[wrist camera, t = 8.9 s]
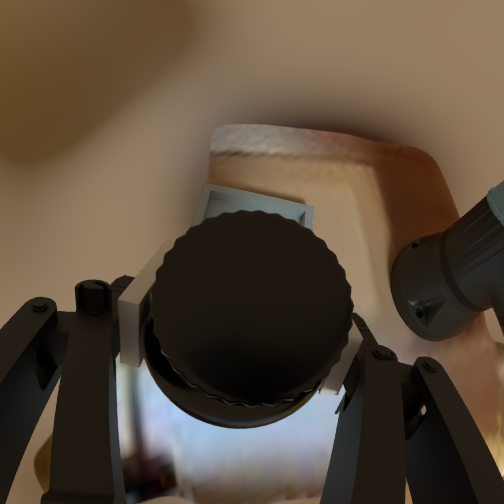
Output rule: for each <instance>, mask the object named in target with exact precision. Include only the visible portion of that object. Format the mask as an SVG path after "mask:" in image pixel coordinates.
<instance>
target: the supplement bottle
mask: <svg viewBox="0 0 504 504" xmlns="http://www.w3.org/2000/svg"><path fill="white" fill-rule="evenodd" d="M353 308H354V304H353V301H352V300H351V286H350V285H349V283H348V282H347V280H346V274H345V270H344V269H343V268H342V266H341V265H340V264H339V263H338V260H337V257H336V254H334V253H333V252H332V251H331V250H329V249H328V247H327V245H326V243H325V241H324V240H322V239H320V238H318V237H316V236H315V235H314V233H313V232H312V230H311V229H309V228H306V227H303V226H301V225H300V224H299V223H298V222H297V221H296V220H293V219H287V218H284V217H283V216H281V215H280V214H278V213H266V212H264V211H262V210H256V211H247V210H242V209H241V210H239V211H236V212H234V213H230V212H223V213H221V214H220V215H218V216H217V217H210V218H206V219H205V220H204V221H202V223H201V224H199V225H195V226H192V227H190V228H189V230H188V231H187V233H186V234H185V235H183V236H181V237H179V238H177V239H176V241H175V243H174V245H173V248H172V249H171V250H169V251H168V252H166V253H165V254H164V258H163V264H162V265H161V266H160V267H159V268H158V269H157V270H156V281H155V283H154V285H153V286H152V288H151V290H150V292H149V294H148V297H147V299H146V302H145V305H144V309H143V314H142V319H141V344H142V350H143V355H144V359H145V361H146V364H147V367H148V369H149V372H150V374H151V376H152V378H153V379H154V381H155V383H156V384H157V386H158V387H159V388H160V390H161V391H162V392H163V394H164V395H165V396H166V397H167V398H168V399H169V400H170V401H171V402H172V403H173V404H175V405H176V406H177V407H178V408H179V409H181V410H182V411H184V412H185V413H187V414H188V415H190V416H192V417H194V418H196V419H198V420H200V421H202V422H205V423H208V424H211V425H214V426H219V427H224V428H233V429H248V428H256V427H261V426H266V425H269V424H272V423H275V422H277V421H280V420H282V419H284V418H286V417H288V416H289V415H291V414H293V413H294V412H296V411H297V410H299V409H300V408H301V407H302V406H304V405H305V404H306V403H307V402H308V401H309V400H310V399H311V398H312V397H313V396H314V395H315V393H316V392H317V391H318V389H319V388H320V387H321V385H322V383H323V382H324V380H325V378H326V377H328V376H329V374H330V371H331V368H332V366H334V365H335V364H337V363H338V362H339V361H340V359H341V354H342V350H343V349H344V348H345V347H346V346H347V344H348V342H349V331H350V330H351V328H352V326H353V320H352V316H351V314H352V312H353Z"/></svg>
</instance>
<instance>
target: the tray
mask: <svg viewBox="0 0 504 504" xmlns="http://www.w3.org/2000/svg"><path fill="white" fill-rule="evenodd" d="M241 209H242V210H247V211H256V210H262V211H264V212H266V213H278V214H280V215H281V216H283V217H284V218H287V219H293V220H296V221H297V222H298V223H299V224H300V225H301V226H303V227H306V228H309V229H311V230H312V225H313V210H314V207H313V206H309V205H305V204H301V203H297V202H292V201H288V200H284V199H280V198H275V197H271V196H266V195H262V194H257V193H253V192H248V191H244V190H239V189H234V188H229V187H224V186H220V185H215V184H209V183H204V186H203V190H202V193H201V196H200V199H199V202H198V206H197V209H196V212H195V215H194V219H193V223H192V226H195V225H199V224H201V223H202V221H204V220H205V219H206V218H210V217H217V216H218V215H220V214H221V213H223V212H230V213H234V212H236V211H239V210H241ZM192 226H191V227H192Z"/></svg>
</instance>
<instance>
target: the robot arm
mask: <svg viewBox="0 0 504 504" xmlns="http://www.w3.org/2000/svg"><path fill="white" fill-rule="evenodd" d="M174 243H175V242H169V241H166V242H165V243H164V244H163V246H162V247H161V248H160V249H159V250H158V251H157V253H156V254H155V255H154V256H153V257H152V258H151V260H150V261H149V262H148V263H147V264H146V266H145V267H144V268H143V269H142V270H141V272H140V273H139V274H138V275H137V276H136V277H130V276H126V275H124V276H122V277H119V278H117V279H116V280H115V281H114V282H113V283H112V284H111V285H109V284H108V283H107V282H104V281H101V280H86V281H82V282H80V283H78V284H77V285H76V286H75V297H76V312H64V311H57V306H56V303H55V301H53V300H52V299H50V298H45V297H36V298H33V299H30V300H29V301H27V302H26V303H25V304H24V305H23V306H22V307H21V308H20V309H19V310H18V311H17V312H16V313H15V314H14V315H13V316H12V317H11V319H10V320H9V321H8V322H7V323H6V324H5V325H4V326H3V327H2V328H1V329H0V504H5V503H6V500H7V497H8V494H9V491H10V489H11V486H12V483H13V480H14V478H15V475H16V472H17V470H18V467H19V465H20V462H21V460H22V457H23V455H24V452H25V450H26V447H27V445H28V443H29V441H30V438H31V436H32V434H33V431H34V429H35V427H36V425H37V423H38V421H39V418H40V416H41V414H42V412H43V410H44V408H45V406H46V404H47V402H48V400H49V398H50V396H51V394H52V392H53V390H54V388H55V386H56V384H57V382H58V379H59V378H60V376H61V379H60V385H59V391H58V397H57V404H56V412H55V419H54V428H53V437H52V449H51V464H50V486H49V490H48V492H46V493H44V494H43V495H42V498H41V504H127V502H126V496H125V489H124V482H123V474H122V466H121V456H120V446H119V433H118V417H117V392H116V360H115V359H116V357H117V355H118V354H119V352H120V363H124V364H128V365H132V366H136V367H140V365H141V363H142V361H143V358H144V355H143V350H142V344H141V319H142V314H143V309H144V305H145V302H146V299H147V297H148V294H149V292H150V290H151V288H152V286H153V285H154V283H155V281H156V270H157V269H158V268H159V267H160V266H161V265H162V264H163V258H164V254H165V253H166V252H168V251H169V250H171V249H172V248H173V245H174ZM391 288H392V294H393V298H394V302H395V305H396V307H397V310H398V312H399V314H400V316H401V317H402V319H403V320H404V322H405V323H406V325H407V326H408V327H409V328H410V329H411V330H412V331H413V332H414V333H415V334H417V335H418V336H420V337H421V338H423V339H426V340H429V341H443V340H446V339H449V338H452V337H454V336H456V335H458V334H459V333H461V332H462V331H463V330H464V329H465V328H466V327H467V326H468V325H469V324H470V323H471V322H473V321H474V320H475V319H476V318H477V317H478V316H479V314H480V313H481V312H483V311H485V310H487V309H490V308H492V307H493V309H494V312H495V314H496V316H497V319H498V321H499V324H500V327H501V330H502V333H503V335H504V181H502V182H501V183H500V184H499V185H497V186H496V187H493V188H491V189H490V190H489V191H488V194H487V195H486V196H485V197H484V198H483V199H482V200H481V201H480V202H479V203H478V204H476V205H475V206H474V207H473V208H472V209H471V210H470V211H468V212H467V213H466V214H465V215H464V216H463V217H461V218H460V219H459V220H458V221H456V222H455V223H454V224H453V225H452V226H451V227H449V228H448V229H447V230H446V231H444V232H440V233H436V234H432V235H429V236H425V237H421V238H418V239H416V240H414V241H412V242H411V243H410V244H408V245H407V246H406V247H405V248H403V249H402V250H401V251H400V253H399V254H398V255H397V257H396V259H395V261H394V264H393V267H392V273H391ZM351 316H352V320H353V326H352V328H351V330H350V331H349V342H348V344H347V346H346V347H345V348H344V349H343V350H342V354H341V359H340V361H339V362H338V363H337V364H335V365H334V366H332V368H331V371H330V374H329V376H328V377H326V378H325V380H324V382H323V383H322V385H321V387H320V388H319V389H318V390H319V394H327V395H338V393H339V391H340V389H341V387H342V385H344V388H345V391H346V392H345V394H344V396H343V398H342V400H341V402H340V404H339V406H338V408H337V410H336V412H335V414H338V412H339V411H340V412H339V418H338V423H337V429H336V434H335V439H334V444H333V449H332V454H331V459H330V463H329V468H328V472H327V476H326V481H325V485H324V489H323V493H322V497H321V500H320V504H405V487H406V478H407V482H408V486H409V490H410V493H411V498H412V502H413V504H504V481H503V478H502V476H501V474H500V471H499V469H498V467H497V465H496V463H495V461H494V459H493V457H492V455H491V452H490V450H489V448H488V446H487V444H486V442H485V440H484V438H483V437H482V435H481V433H480V431H479V429H478V427H477V425H476V423H475V421H474V420H473V418H472V416H471V414H470V412H469V410H468V409H467V407H466V405H465V403H464V402H463V400H462V398H461V396H460V395H459V393H458V391H457V390H456V388H455V386H454V384H453V383H452V381H451V379H450V378H449V376H448V374H447V373H446V371H445V370H444V368H443V367H442V365H441V364H440V363H439V362H437V361H436V360H435V359H432V358H430V357H425V356H424V357H418V358H417V359H416V361H415V363H414V365H413V366H412V365H408V364H404V363H400V362H398V358H397V356H396V354H395V353H394V352H393V351H392V350H390V349H389V348H387V347H384V346H382V345H378V343H377V341H376V340H375V338H374V336H373V335H372V333H371V332H370V330H369V328H368V327H367V325H366V323H365V321H364V320H363V319H362V318H361V317H360V316H359V315H358V314H356V313H352V314H351ZM424 405H425V406H426V413H425V414H424V415H422V413H421V409H422V408H423V406H424Z"/></svg>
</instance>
